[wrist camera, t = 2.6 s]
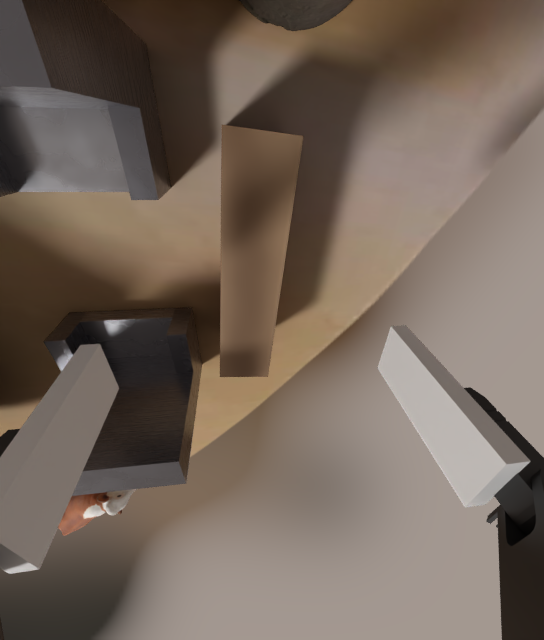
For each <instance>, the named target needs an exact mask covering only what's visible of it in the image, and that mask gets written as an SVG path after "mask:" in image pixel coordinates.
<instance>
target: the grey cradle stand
mask: <svg viewBox="0 0 544 640" xmlns="http://www.w3.org/2000/svg"><path fill="white" fill-rule="evenodd" d="M170 188H171V185H170V179H169V173H168V167H167V162H166V156H165V150H164V145H163V139H162V133H161V128H160V122H159V116H158V110H157V105H156V99H155V93H154V88H153V82H152V76H151V71H150V65H149V59H148V53H147V48H146V44H145V43H144V42H143V41H142V40H141V39H140V38H139V37H138V36H137V35H136V34H135V33H134V32H133V31H132V30H131V29H130V28H129V27H128V26H127V25H126V24H125V23H124V22H123V21H122V20H121V19H120V18H119V17H118V16H117V15H116V14H115V13H114V12H113V11H111V10H110V9H109V8H108V7H107V6H106V5H105V4H104V3H103V2H102V1H101V0H0V197H2V196H5V195H8V194H12V193H15V192H130V196H131V200H159V199H160V198H161V197H162V196H163V195H164V194H165V193H166V192H167V191H168V190H169V189H170ZM44 343H45V345H46V347H47V348H48V350H49V352H50V353H51V355H52V357H53V358H54V360H55V362H56V363H57V365H58V367H59V368H60V370H61V372H62V370H63V369H64V367H65V366H66V365H67V363H68V362H69V360H70V359H71V358H72V356H73V355H74V353H75V352H76V351H77V349H78V348H79V346H80V345H88V344H100V345H101V347H102V350H103V352H104V354H105V357H106V359H107V361H108V363H109V366H110V368H111V370H112V373H113V375H114V377H115V380H116V382H117V384H118V386H119V390H118V392H117V395H116V397H115V399H114V401H113V404H112V406H111V408H110V410H109V413H108V415H107V417H106V419H105V422H104V424H103V426H102V429H101V431H100V433H99V435H98V438H97V440H96V442H95V444H94V447H93V449H92V451H91V454H90V456H89V458H88V460H87V463H86V465H85V467H84V469H83V472H82V474H81V476H80V478H79V481H78V483H77V485H76V488H75V490H74V492H73V494H72V496H77V495H86V494H95V493H104V492H113V491H122V490H131V489H140V488H149V487H157V486H167V485H176V484H185V483H186V481H187V473H188V465H189V459H190V451H191V444H192V436H193V429H194V421H195V414H196V406H197V399H198V391H199V384H200V376H201V369H202V361H201V356H200V350H199V344H198V339H197V333H196V327H195V321H194V316H193V310H192V307H191V308H168V309H145V310H121V311H98V312H75V313H69V314H68V315H67V316H66V317H65V318H64V319H63V321H62V322H61V323H60V324H59V325H58V326H57V327H56V328H55V329H54V331H53V332H52V333H51V334H50V335H49V336H48V337H47V338H46V340H45V341H44Z"/></svg>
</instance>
